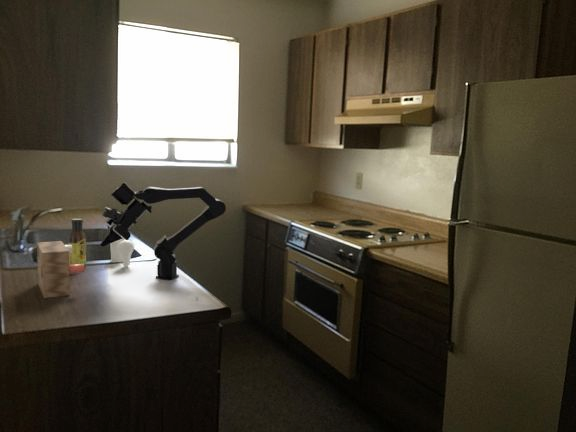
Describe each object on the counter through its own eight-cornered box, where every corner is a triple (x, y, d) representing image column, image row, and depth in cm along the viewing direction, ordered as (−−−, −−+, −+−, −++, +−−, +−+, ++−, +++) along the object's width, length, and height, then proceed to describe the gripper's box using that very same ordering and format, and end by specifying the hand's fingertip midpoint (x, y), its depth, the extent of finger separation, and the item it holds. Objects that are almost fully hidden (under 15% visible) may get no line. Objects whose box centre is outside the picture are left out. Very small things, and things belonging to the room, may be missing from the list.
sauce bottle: (83, 270, 208) (82, 220, 205) (67, 270, 208) (65, 220, 205) (88, 266, 215) (87, 218, 212) (72, 266, 214) (71, 217, 211)
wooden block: (62, 281, 193) (61, 240, 191) (70, 295, 177) (68, 250, 175) (38, 283, 189) (36, 242, 187) (43, 297, 173) (42, 252, 171)
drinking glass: (129, 261, 226) (129, 238, 225) (114, 263, 221) (114, 240, 220) (121, 258, 231) (121, 235, 229) (107, 260, 226) (106, 237, 225)
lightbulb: (129, 268, 214) (129, 241, 212) (115, 267, 215) (115, 240, 213) (136, 265, 220) (136, 239, 218) (123, 264, 221) (123, 238, 219)
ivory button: (71, 252, 191) (71, 243, 191) (72, 253, 189) (72, 245, 188) (50, 253, 188) (49, 245, 187) (51, 255, 185) (50, 246, 185)
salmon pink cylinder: (83, 271, 183) (82, 262, 182) (84, 273, 180) (84, 264, 180) (61, 273, 179) (60, 264, 179) (62, 275, 177) (62, 266, 176)
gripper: (110, 196, 200) (80, 227, 197) (120, 202, 184) (87, 235, 181) (132, 216, 205) (103, 246, 202) (143, 223, 189) (112, 256, 185)
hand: (101, 245), depth 192 cm, fingers closed
